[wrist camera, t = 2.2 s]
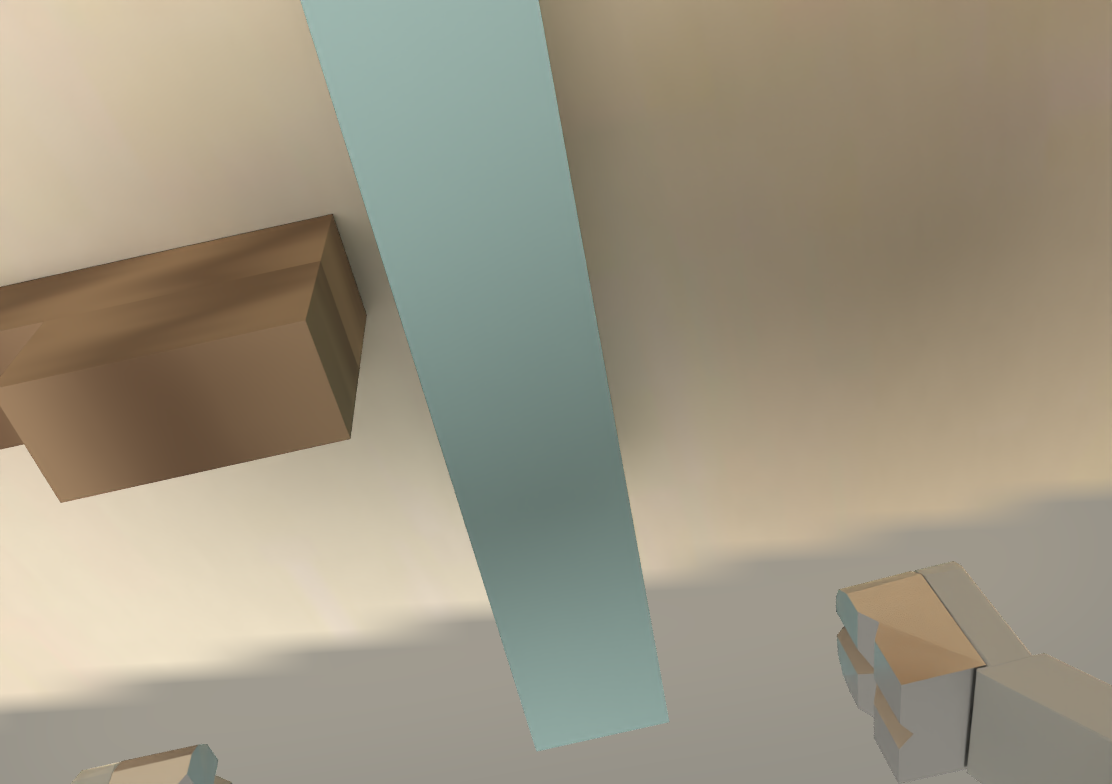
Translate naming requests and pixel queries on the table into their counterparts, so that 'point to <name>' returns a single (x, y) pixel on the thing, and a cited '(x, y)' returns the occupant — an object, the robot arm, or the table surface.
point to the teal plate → (502, 336)
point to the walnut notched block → (182, 359)
